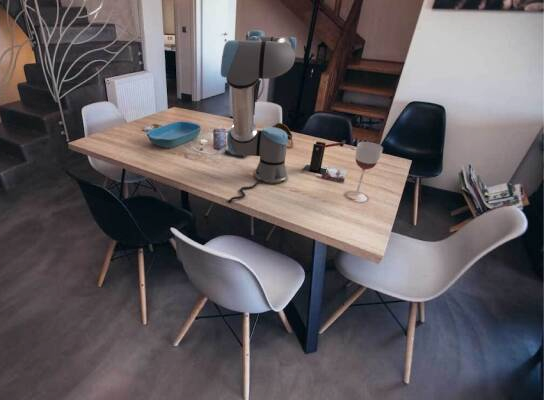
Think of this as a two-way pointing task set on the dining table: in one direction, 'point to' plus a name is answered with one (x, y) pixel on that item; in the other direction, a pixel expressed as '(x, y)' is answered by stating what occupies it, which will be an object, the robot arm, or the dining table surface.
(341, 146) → the lever
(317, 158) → the bracket
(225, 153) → the button box
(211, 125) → the dining table surface
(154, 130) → the casserole dish
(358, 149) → the wineglass
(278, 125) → the sword hilt
